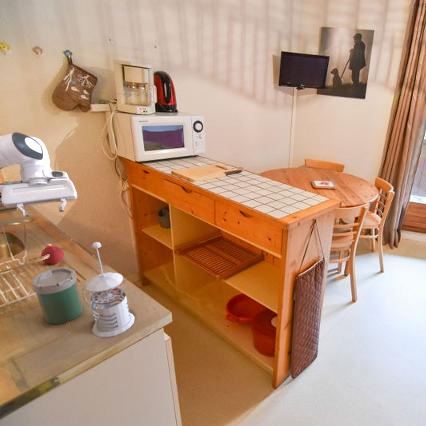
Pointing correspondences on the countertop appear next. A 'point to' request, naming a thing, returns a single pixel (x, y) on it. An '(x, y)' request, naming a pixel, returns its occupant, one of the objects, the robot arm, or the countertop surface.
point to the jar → (58, 295)
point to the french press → (108, 303)
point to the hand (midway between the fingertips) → (44, 213)
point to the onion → (53, 254)
